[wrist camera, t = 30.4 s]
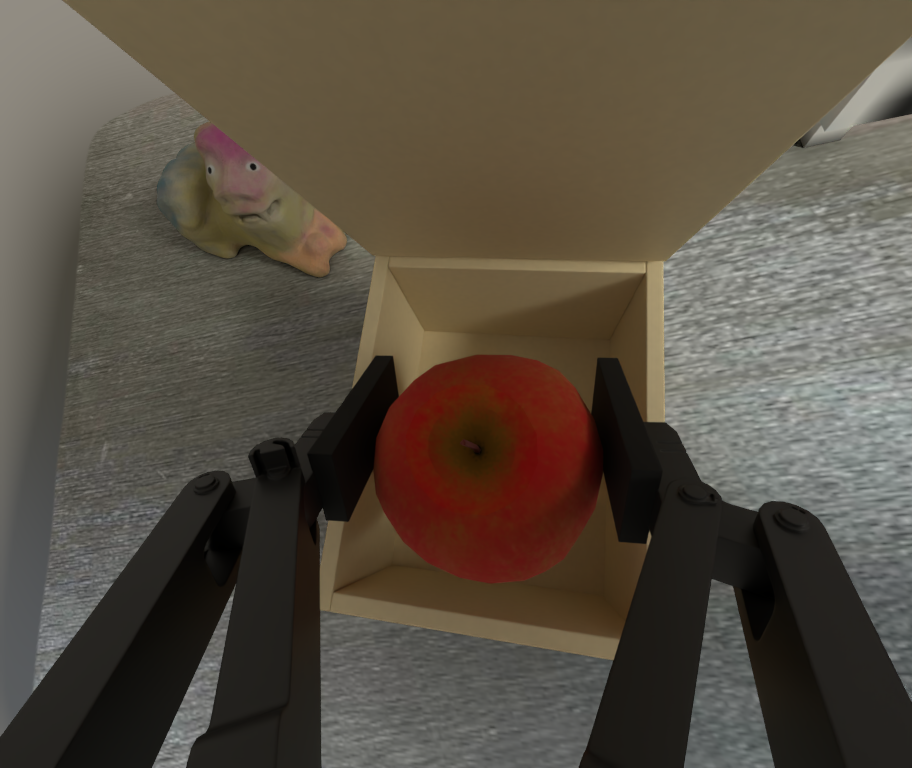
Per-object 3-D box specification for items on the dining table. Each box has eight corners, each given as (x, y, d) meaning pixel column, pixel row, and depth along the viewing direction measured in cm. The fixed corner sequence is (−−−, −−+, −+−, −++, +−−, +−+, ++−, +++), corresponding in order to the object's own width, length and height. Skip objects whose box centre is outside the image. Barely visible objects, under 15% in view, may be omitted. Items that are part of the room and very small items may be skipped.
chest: (614, 609, 26) (668, 670, 16) (381, 574, 28) (312, 609, 19) (619, 334, 30) (663, 258, 21) (417, 324, 33) (375, 253, 23)
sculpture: (183, 264, 37) (67, 182, 28) (214, 182, 39) (116, 80, 30) (338, 281, 35) (268, 196, 25) (363, 192, 37) (307, 82, 27)
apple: (526, 361, 22) (531, 234, 12) (621, 511, 19) (734, 518, 9) (385, 440, 22) (263, 382, 12) (461, 600, 19) (392, 709, 9)
